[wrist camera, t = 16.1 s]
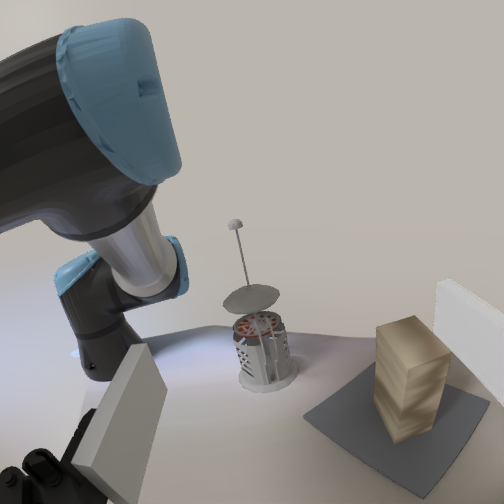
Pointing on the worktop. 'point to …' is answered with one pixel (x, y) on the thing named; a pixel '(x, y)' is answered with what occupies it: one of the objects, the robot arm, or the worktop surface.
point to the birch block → (409, 377)
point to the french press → (259, 336)
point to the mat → (380, 442)
